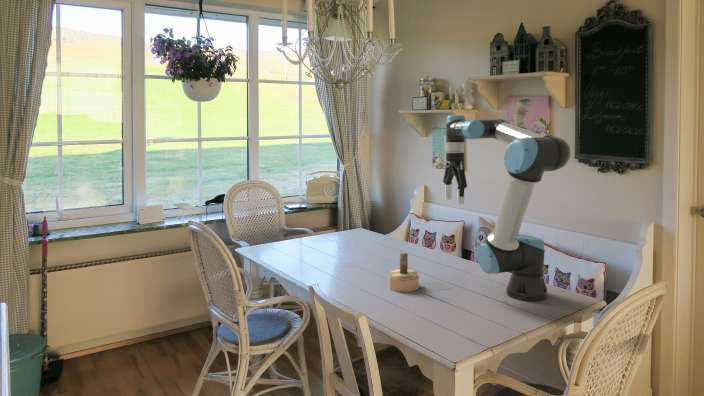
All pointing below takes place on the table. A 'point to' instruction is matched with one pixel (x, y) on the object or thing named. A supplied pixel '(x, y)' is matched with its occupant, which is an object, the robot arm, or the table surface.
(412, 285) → the bowl
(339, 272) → the table surface
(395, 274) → the lid
